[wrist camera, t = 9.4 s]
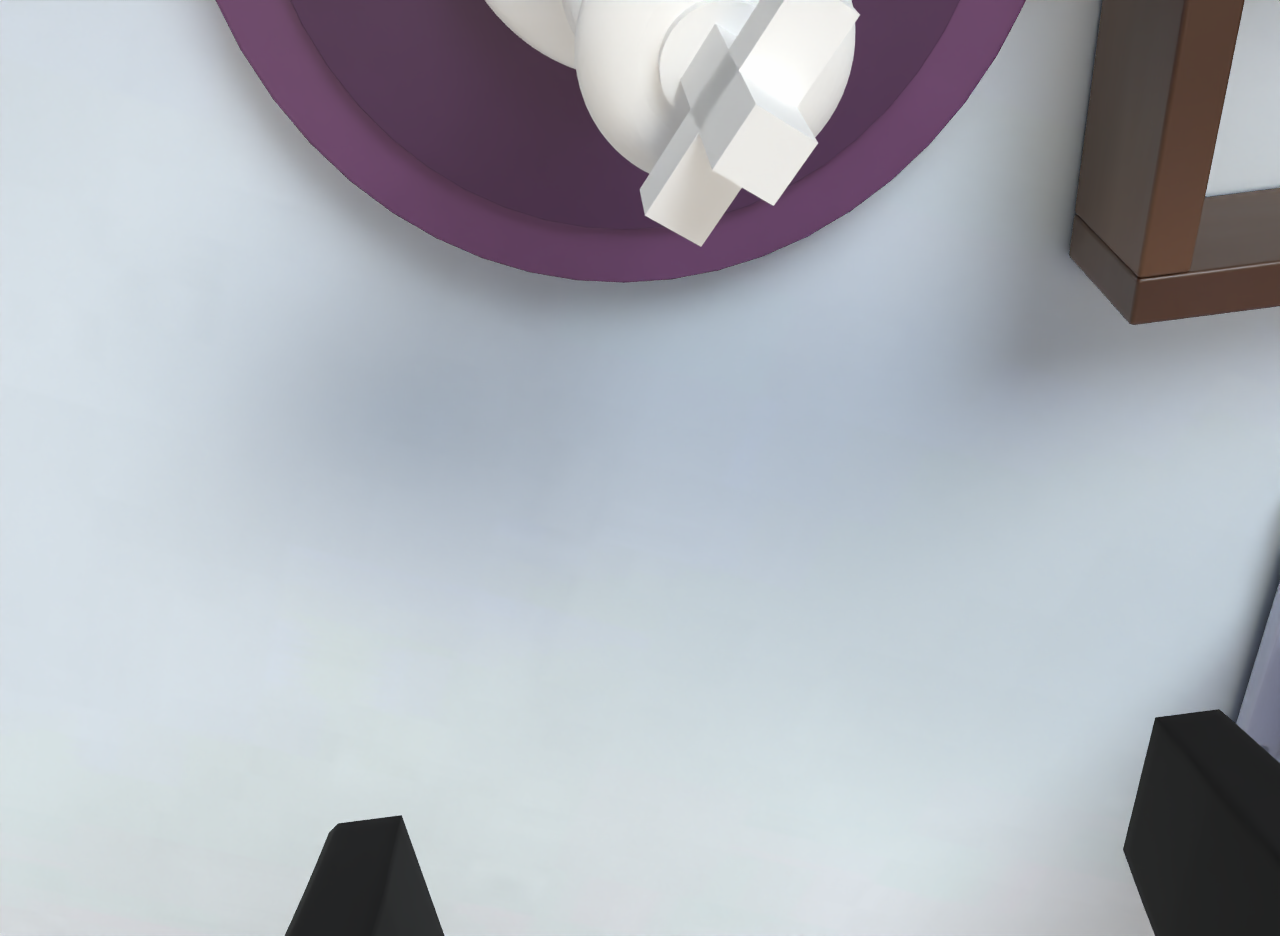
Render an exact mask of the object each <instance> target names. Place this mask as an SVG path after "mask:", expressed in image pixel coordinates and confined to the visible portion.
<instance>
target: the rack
mask: <svg viewBox="0 0 1280 936" xmlns="http://www.w3.org/2000/svg"><path fill="white" fill-rule="evenodd" d="M1243 5H1244V0H1103V1H1102V8H1101V16H1100V24H1099V31H1098V39H1097V46H1096V54H1095V61H1094V69H1093V77H1092V84H1091V92H1090V99H1089V107H1088V115H1087V122H1086V130H1085V137H1084V145H1083V153H1082V160H1081V168H1080V175H1079V183H1078V191H1077V198H1076V206H1075V212H1076V215H1075V216H1074V221H1073V229H1072V236H1071V244H1070V252H1069V255H1070V258H1071V259H1072V260H1073V261H1074V262H1075V263H1076V264H1077V265H1078V267H1079V268H1080V269H1081V270H1082V271H1083V272H1084V273H1085V274H1086V276H1087V277H1088V278H1089V279H1090V280H1091V281H1092V282H1093V283H1094V285H1095V286H1096V287H1097V288H1098V289H1099V290H1100V291H1101V292H1102V293H1103V295H1104V296H1105V297H1106V298H1107V299H1108V300H1109V301H1110V302H1111V304H1112V305H1113V306H1114V307H1115V308H1116V309H1117V310H1118V311H1119V312H1120V314H1121V315H1122V316H1123V317H1124V318H1125V319H1126V320H1127V321H1128V323H1129V324H1132V325H1137V324H1145V323H1152V322H1160V321H1168V320H1176V319H1184V318H1191V317H1199V316H1207V315H1215V314H1222V313H1230V312H1238V311H1246V310H1254V309H1261V308H1269V307H1277V306H1280V188H1275V189H1268V190H1260V191H1252V192H1244V193H1236V194H1228V195H1221V196H1213V197H1205V193H1206V189H1207V184H1208V179H1209V174H1210V169H1211V164H1212V159H1213V154H1214V149H1215V144H1216V139H1217V134H1218V129H1219V124H1220V119H1221V114H1222V109H1223V104H1224V99H1225V94H1226V89H1227V84H1228V79H1229V74H1230V69H1231V65H1232V60H1233V55H1234V50H1235V45H1236V40H1237V35H1238V30H1239V25H1240V20H1241V15H1242V10H1243Z"/></svg>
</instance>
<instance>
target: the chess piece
mask: <svg viewBox="0 0 1280 936" xmlns="http://www.w3.org/2000/svg"><path fill="white" fill-rule="evenodd" d="M485 1H486V3H487V4H488V5H489V6H490V8H491V9H492V10H493V11H494V13H495V14H496V15H497V16H498V17H499V18H500V19H501V20H502V21H503V22H504V23H505V25H506V26H507V27H508V28H510V29H511V30H512V31H513V32H514V33H515V34H516V35H517V36H519V37H520V38H521V39H522V40H524V41H525V42H526V43H527V44H529V45H530V46H532V47H533V48H534V49H536V50H538V51H539V52H541V53H542V54H544V55H546V56H548V57H549V58H551V59H553V60H555V61H557V62H559V63H561V64H563V65H566V66H568V67H571V68H574V69H576V72H577V78H578V82H579V86H580V90H581V93H582V96H583V99H584V102H585V105H586V107H587V109H588V111H589V113H590V115H591V117H592V119H593V121H594V122H595V124H596V126H597V127H598V129H599V130H600V132H601V133H602V134H603V136H604V137H605V138H606V140H607V141H608V142H609V143H610V144H611V145H612V146H613V147H614V149H615V150H617V151H618V152H619V153H620V154H621V155H622V156H623V157H624V158H626V159H627V160H628V161H630V162H631V163H632V164H634V165H635V166H637V167H638V168H640V169H642V170H643V171H645V172H647V173H649V175H648V177H647V179H646V180H645V182H644V183H643V185H642V187H641V188H640V194H641V199H642V204H643V209H644V213H645V216H647V217H648V218H650V219H652V220H654V221H656V222H657V223H659V224H661V225H663V226H665V227H666V228H668V229H670V230H672V231H674V232H675V233H677V234H679V235H681V236H683V237H684V238H686V239H688V240H690V241H692V242H693V243H695V244H697V245H699V246H702V245H703V243H704V242H705V241H706V239H707V238H708V236H709V235H710V233H711V232H712V230H713V229H714V227H715V226H716V225H717V223H718V222H719V220H720V219H721V217H722V216H723V214H724V213H725V211H726V210H727V208H728V207H729V206H730V204H731V203H732V201H733V200H734V198H735V197H736V195H737V194H738V192H739V191H740V190H741V188H744V189H746V190H747V191H749V192H751V193H752V194H754V195H756V196H757V197H759V198H761V199H763V200H764V201H766V202H768V203H769V204H771V205H773V206H774V205H775V203H776V202H777V201H778V199H779V198H780V196H781V195H782V193H783V192H784V191H785V189H786V188H787V186H788V185H789V184H790V182H791V181H792V179H793V178H794V177H795V175H796V174H797V172H798V171H799V169H800V168H801V167H802V165H803V164H804V162H805V161H806V160H807V158H808V157H809V155H810V154H811V153H812V151H813V150H814V148H815V147H816V145H817V144H818V142H817V140H816V138H815V137H816V136H817V135H818V134H819V132H820V131H821V130H822V129H823V127H824V126H825V125H826V123H827V122H828V121H829V119H830V118H831V116H832V114H833V113H834V111H835V109H836V107H837V105H838V103H839V101H840V99H841V97H842V95H843V93H844V90H845V87H846V85H847V82H848V78H849V75H850V71H851V67H852V62H853V57H854V49H855V22H856V20H857V19H858V17H859V16H860V14H859V13H858V12H857V11H856V10H855V8H854V7H853V4H852V0H485Z"/></svg>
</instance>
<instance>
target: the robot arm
mask: <svg viewBox="0 0 1280 936" xmlns="http://www.w3.org/2000/svg"><path fill="white" fill-rule="evenodd" d="M1123 851H1124V853H1125V856H1126V859H1127V862H1128V864H1129V867H1130V870H1131V873H1132V875H1133V878H1134V881H1135V884H1136V886H1137V889H1138V892H1139V895H1140V897H1141V900H1142V903H1143V906H1144V908H1145V911H1146V913H1147V916H1148V918H1149V921H1150V924H1151V926H1152V929H1153V931H1154V934H1155V936H1280V582H1279V585H1278V589H1277V592H1276V595H1275V598H1274V602H1273V605H1272V608H1271V611H1270V615H1269V618H1268V621H1267V624H1266V628H1265V631H1264V634H1263V637H1262V641H1261V644H1260V647H1259V650H1258V654H1257V657H1256V660H1255V663H1254V667H1253V670H1252V673H1251V677H1250V680H1249V683H1248V686H1247V690H1246V693H1245V696H1244V699H1243V703H1242V706H1241V709H1240V712H1239V716H1238V719H1237V722H1236V723H1235V722H1233V721H1232V720H1231V719H1230V718H1229V717H1228V716H1227V715H1225V714H1224V713H1223V712H1222V711H1220V710H1219V709H1218V710H1210V711H1203V712H1195V713H1187V714H1179V715H1172V716H1164V717H1156V718H1155V721H1154V725H1153V729H1152V733H1151V738H1150V742H1149V746H1148V750H1147V754H1146V758H1145V762H1144V766H1143V770H1142V774H1141V778H1140V783H1139V787H1138V791H1137V795H1136V799H1135V803H1134V807H1133V811H1132V815H1131V819H1130V823H1129V827H1128V832H1127V836H1126V840H1125V844H1124V848H1123ZM285 936H444V933H443V930H442V928H441V925H440V922H439V919H438V916H437V914H436V911H435V908H434V905H433V902H432V900H431V897H430V894H429V891H428V888H427V885H426V883H425V880H424V877H423V874H422V871H421V869H420V866H419V863H418V860H417V857H416V855H415V852H414V849H413V846H412V843H411V840H410V838H409V835H408V832H407V829H406V826H405V824H404V821H403V818H402V815H401V816H393V817H385V818H377V819H370V820H362V821H354V822H347V823H339V824H337V825H336V826H335V827H334V828H333V829H332V830H331V831H330V832H329V834H328V837H327V839H326V842H325V844H324V846H323V849H322V851H321V854H320V856H319V859H318V861H317V864H316V866H315V868H314V871H313V873H312V875H311V878H310V880H309V882H308V885H307V887H306V889H305V892H304V894H303V896H302V898H301V901H300V903H299V905H298V907H297V910H296V912H295V914H294V916H293V919H292V921H291V923H290V925H289V927H288V930H287V932H286V934H285Z"/></svg>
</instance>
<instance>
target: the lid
mask: <svg viewBox="0 0 1280 936" xmlns="http://www.w3.org/2000/svg"><path fill="white" fill-rule="evenodd" d="M1025 1H1026V0H852V4H853V7H854V8H855V10H856V11H857V12H858V13H859V14H860V16H859V17H858V19H857V20H856V22H855V49H854V57H853V62H852V67H851V71H850V75H849V78H848V82H847V85H846V87H845V90H844V93H843V95H842V97H841V99H840V101H839V103H838V105H837V107H836V109H835V111H834V113H833V114H832V116H831V118H830V119H829V121H828V122H827V123H826V125H825V126H824V127H823V129H822V130H821V131H820V132H819V134H818V135H817V136H816V137H815V138H816V140H817V142H818V144H817V145H816V147H815V148H814V150H813V151H812V153H811V154H810V155H809V157H808V158H807V160H806V161H805V162H804V164H803V165H802V167H801V168H800V169H799V171H798V172H797V174H796V175H795V177H794V178H793V179H792V181H791V182H790V184H789V185H788V186H787V188H786V189H785V191H784V192H783V193H782V195H781V196H780V198H779V199H778V201H777V202H776V203H775V205H774V206H773V205H771V204H769V203H768V202H766V201H764V200H763V199H761V198H759V197H757V196H756V195H754V194H752V193H751V192H749V191H747V190H746V189H744V188H741V190H740V191H739V192H738V194H737V195H736V197H735V198H734V200H733V201H732V203H731V204H730V206H729V207H728V208H727V210H726V211H725V213H724V214H723V216H722V217H721V219H720V220H719V222H718V223H717V225H716V226H715V227H714V229H713V230H712V232H711V233H710V235H709V236H708V238H707V239H706V241H705V242H704V243H703V245H702V246H699V245H697V244H695V243H693V242H692V241H690V240H688V239H686V238H684V237H683V236H681V235H679V234H677V233H675V232H674V231H672V230H670V229H668V228H666V227H665V226H663V225H661V224H659V223H657V222H656V221H654V220H652V219H650V218H648V217H647V216H645V213H644V209H643V204H642V199H641V194H640V188H641V187H642V185H643V183H644V182H645V180H646V179H647V177H648V175H649V173H647V172H645V171H643V170H642V169H640V168H638V167H637V166H635V165H634V164H632V163H631V162H630V161H628V160H627V159H626V158H624V157H623V156H622V155H621V154H620V153H619V152H618V151H617V150H615V149H614V147H613V146H612V145H611V144H610V143H609V142H608V141H607V140H606V138H605V137H604V136H603V134H602V133H601V132H600V130H599V129H598V127H597V126H596V124H595V122H594V121H593V119H592V117H591V115H590V113H589V111H588V109H587V107H586V105H585V102H584V99H583V96H582V93H581V90H580V86H579V82H578V78H577V72H576V69H574V68H571V67H568V66H566V65H563V64H561V63H559V62H557V61H555V60H553V59H551V58H549V57H548V56H546V55H544V54H542V53H541V52H539V51H538V50H536V49H534V48H533V47H532V46H530V45H529V44H527V43H526V42H525V41H524V40H522V39H521V38H520V37H519V36H517V35H516V34H515V33H514V32H513V31H512V30H511V29H510V28H508V27H507V26H506V25H505V23H504V22H503V21H502V20H501V19H500V18H499V17H498V16H497V15H496V14H495V13H494V11H493V10H492V9H491V8H490V6H489V5H488V4H487V3H486V1H485V0H216V2H217V4H218V6H219V8H220V10H221V12H222V14H223V16H224V18H225V20H226V22H227V24H228V26H229V28H230V30H231V32H232V34H233V36H234V38H235V40H236V42H237V44H238V46H239V48H240V50H241V51H242V53H243V54H244V56H245V57H246V59H247V60H248V62H249V63H250V65H251V66H252V68H253V69H254V71H255V72H256V74H257V75H258V77H259V78H260V80H261V81H262V83H263V85H264V86H265V88H266V89H267V91H268V92H269V94H270V95H271V97H272V98H273V100H274V101H275V102H276V103H277V104H278V106H279V107H280V108H281V109H282V110H283V111H284V113H285V114H286V115H287V116H288V117H289V119H290V120H291V121H292V122H293V123H294V125H295V126H296V127H297V128H298V129H299V131H300V132H301V133H302V134H303V135H304V137H305V138H306V139H307V140H308V141H309V143H310V144H312V145H313V146H314V147H315V148H316V149H317V150H318V151H319V152H320V153H321V154H322V155H323V156H324V157H325V158H326V159H327V160H328V161H329V162H330V163H332V164H333V165H334V166H335V167H336V168H337V169H338V170H339V171H340V172H341V173H342V174H343V175H344V176H345V177H346V178H347V179H348V180H349V181H351V182H352V183H353V184H355V185H356V186H357V187H359V188H360V189H361V190H363V191H364V192H365V193H367V194H368V195H369V196H371V197H372V198H373V199H375V200H376V201H377V202H379V203H380V204H381V205H383V206H384V207H385V208H387V209H388V210H389V211H391V212H392V213H394V214H396V215H397V216H399V217H401V218H402V219H404V220H406V221H408V222H409V223H411V224H413V225H414V226H416V227H418V228H420V229H421V230H423V231H425V232H426V233H428V234H430V235H432V236H433V237H435V238H437V239H439V240H442V241H444V242H446V243H449V244H451V245H453V246H455V247H458V248H460V249H462V250H465V251H467V252H469V253H472V254H474V255H476V256H479V257H481V258H484V259H487V260H490V261H494V262H497V263H500V264H504V265H507V266H510V267H514V268H517V269H520V270H524V271H527V272H532V273H537V274H543V275H549V276H555V277H561V278H566V279H572V280H583V281H602V282H622V283H625V282H640V281H654V280H669V279H676V278H681V277H686V276H691V275H697V274H702V273H707V272H713V271H718V270H721V269H724V268H727V267H731V266H734V265H737V264H740V263H743V262H747V261H750V260H753V259H756V258H759V257H762V256H765V255H767V254H769V253H772V252H774V251H776V250H778V249H781V248H783V247H785V246H787V245H790V244H792V243H794V242H796V241H799V240H801V239H803V238H805V237H808V236H809V235H811V234H813V233H814V232H816V231H818V230H820V229H821V228H823V227H825V226H826V225H828V224H830V223H831V222H833V221H835V220H836V219H838V218H840V217H841V216H843V215H845V214H847V213H848V212H850V211H851V210H853V209H854V208H855V207H857V206H858V205H859V204H861V203H862V202H863V201H865V200H866V199H867V198H869V197H870V196H871V195H873V194H874V193H875V192H877V191H878V190H879V189H881V188H882V187H883V186H885V185H886V184H887V183H889V182H890V181H891V180H892V179H893V178H894V177H896V176H897V175H898V174H899V173H900V172H901V171H902V170H903V169H904V168H905V167H906V166H907V165H908V164H909V163H910V162H911V161H912V160H913V159H915V158H916V157H917V156H918V155H919V154H920V153H921V152H922V151H923V150H924V149H925V148H926V147H927V146H928V145H929V144H930V143H931V142H932V141H933V140H934V139H935V137H936V136H937V135H938V134H939V133H940V131H941V130H942V129H943V128H944V127H945V126H946V124H947V123H948V122H949V121H950V120H951V119H952V117H953V116H954V115H955V114H956V113H957V111H958V110H959V109H960V108H961V107H962V106H963V104H964V103H965V102H966V100H967V99H968V98H969V96H970V95H971V93H972V92H973V90H974V89H975V87H976V86H977V84H978V83H979V81H980V80H981V78H982V77H983V75H984V74H985V72H986V71H987V69H988V68H989V66H990V65H991V64H992V62H993V61H994V59H995V58H996V56H997V54H998V52H999V51H1000V49H1001V47H1002V45H1003V43H1004V41H1005V39H1006V37H1007V36H1008V34H1009V32H1010V30H1011V28H1012V26H1013V24H1014V22H1015V20H1016V19H1017V17H1018V15H1019V13H1020V11H1021V9H1022V7H1023V5H1024V3H1025Z"/></svg>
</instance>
